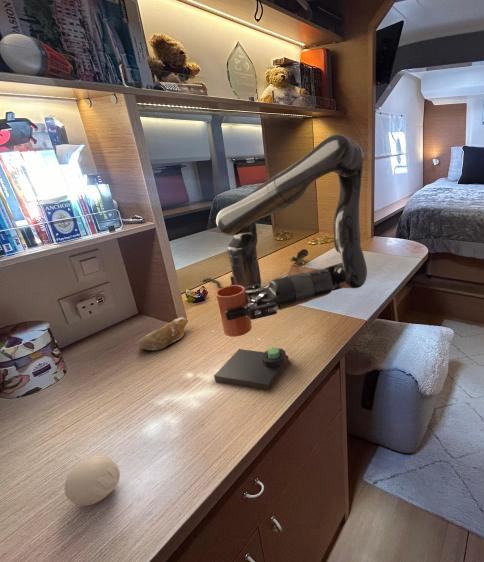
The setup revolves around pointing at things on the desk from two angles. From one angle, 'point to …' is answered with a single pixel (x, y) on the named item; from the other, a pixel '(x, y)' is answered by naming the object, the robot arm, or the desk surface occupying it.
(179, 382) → the desk surface
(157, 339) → the stone
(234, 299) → the cup
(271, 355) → the scale button
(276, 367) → the scale
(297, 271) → the sunglasses case
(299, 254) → the eagle figurine
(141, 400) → the desk surface
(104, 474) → the tan rounded lump
